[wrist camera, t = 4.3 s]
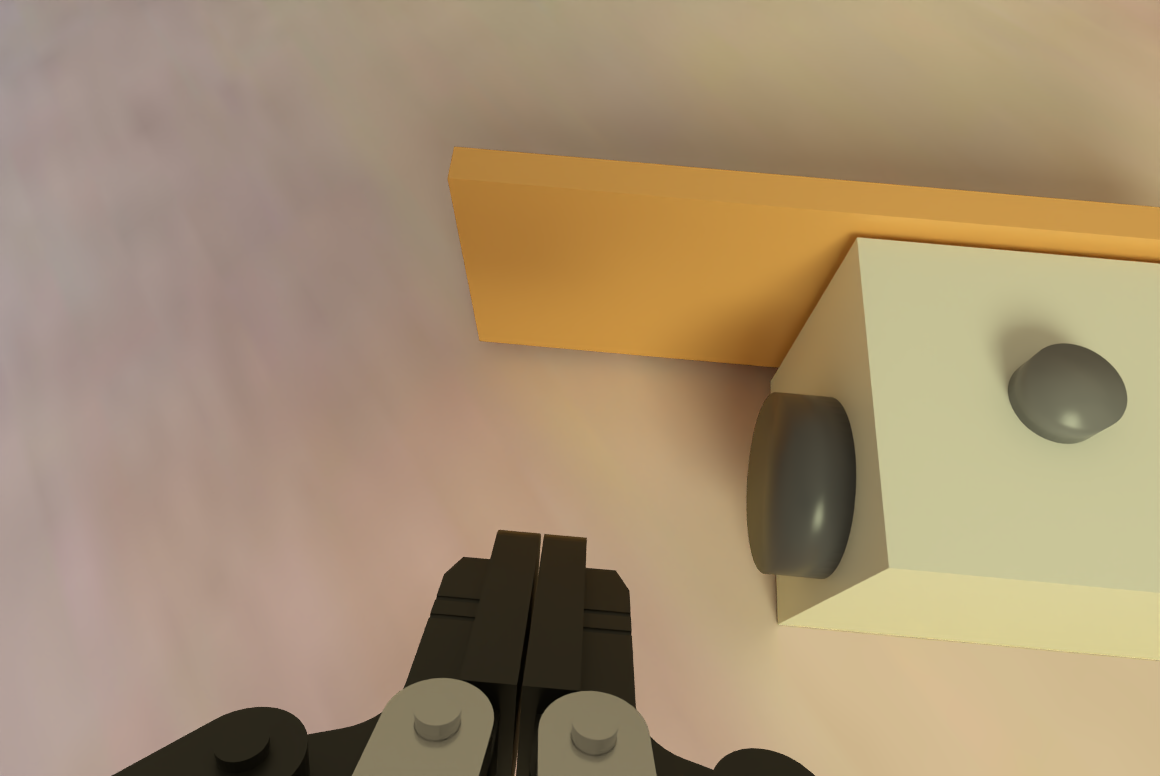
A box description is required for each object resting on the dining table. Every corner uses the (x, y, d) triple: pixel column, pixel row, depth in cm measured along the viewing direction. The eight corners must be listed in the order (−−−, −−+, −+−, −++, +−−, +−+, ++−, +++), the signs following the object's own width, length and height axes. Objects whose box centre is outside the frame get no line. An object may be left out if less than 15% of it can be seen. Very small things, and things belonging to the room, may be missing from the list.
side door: (1234, 362, 25) (1507, 212, 18) (1251, 409, 24) (1542, 272, 17) (487, 296, 26) (459, 122, 18) (479, 341, 25) (447, 177, 18)
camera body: (1241, 423, 25) (1565, 276, 17) (1325, 675, 21) (1782, 639, 13) (729, 378, 25) (810, 210, 17) (730, 619, 22) (831, 551, 14)
